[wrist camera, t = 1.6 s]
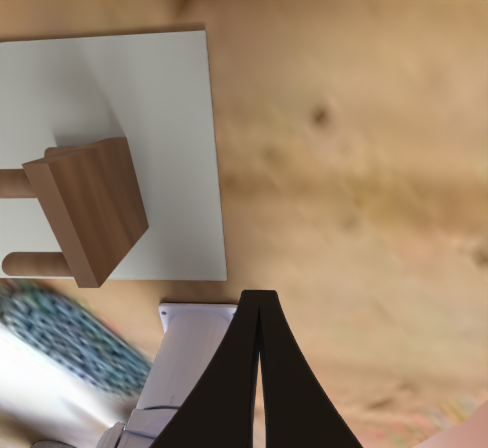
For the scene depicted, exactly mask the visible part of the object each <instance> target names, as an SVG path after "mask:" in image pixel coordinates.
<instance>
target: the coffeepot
mask: <svg viewBox="0 0 488 448" xmlns="http://www.w3.org/2000/svg"><path fill="white" fill-rule="evenodd" d="M30 448H74V447H72V446H70V445H67V444H64V443H61V442H56V441H47V440H45V441H38V442H36V443H35V444H34V445H33V446H32V447H30Z"/></svg>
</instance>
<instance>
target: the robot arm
mask: <svg viewBox="0 0 488 448" xmlns="http://www.w3.org/2000/svg"><path fill="white" fill-rule="evenodd" d="M158 310H159V314H160V317H161V321H162V324H163V328H164V332H165V335H164V338H163V340H162V343H161V345H160V348H159V350H158V353H157V355H156V358H155V360H154V363H153V365H152V368H151V370H150V373H149V375H148V378H147V381H146V383H145V386H144V388H143V391H142V393H141V396H140V398H139V401H138V403H137V406H136V408H134V409H133V411H132V413H131V416H130V418H129V421H128V423H127V426H126V428H125V430H123V429H124V426H125V424H123V423H119V422H118V423H116V424H115V425H114V426H113V427H111V428H110V429H108V430H107V431H105V432H104V434H103V435H102V437H101V438H100V440H99V442H98V444H97V446H96V448H253V421H254V407H255V396H256V385H257V374H258V362H259V351H260V362H261V374H262V386H263V397H264V409H265V426H266V448H363V447H362V445H361V444H360V442H359V441H358V440H357V438H356V437H355V435H354V434H353V433H352V431H351V430H350V428H349V427H348V426H347V424H346V423H345V421H344V420H343V419H342V417H341V416H340V414H339V413H338V411H337V410H336V409H335V407H334V405H333V404H332V402H331V401H330V399H329V398H328V396H327V395H326V393H325V392H324V390H323V388H322V387H321V385H320V384H319V382H318V380H317V379H316V377H315V375H314V374H313V372H312V370H311V368H310V367H309V365H308V363H307V361H306V360H305V358H304V356H303V354H302V352H301V350H300V348H299V346H298V344H297V342H296V340H295V338H294V336H293V334H292V332H291V330H290V328H289V325H288V323H287V321H286V318H285V316H284V313H283V311H282V308H281V305H280V302H279V298H278V294H277V292H276V291H275V290H243V291H242V293H241V297H240V300H239V303H238V305H232V304H181V303H161V304H160V305H159V307H158ZM164 311H165V312H164Z"/></svg>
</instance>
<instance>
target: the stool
mask: <svg viewBox="0 0 488 448" xmlns="http://www.w3.org/2000/svg"><path fill="white" fill-rule="evenodd" d="M21 165H22V167H23V169H0V199H12V198H37V199H38V201H39V203H40V205H41V207H42V210H43V212H44V214H45V216H46V218H47V220H48V223H49V225H50V227H51V229H52V231H53V233H54V235H55V238H56V240H57V242H58V244H59V246H60V248H61V250H62V252H11V253H9V254H8V255H6V256H5V258H4V259H3V261H2V270H3V272H4V273H5V274H6V275H8V276H43V277H74V278H75V281H76V283H77V285H78V287H79V288H100V286H101V285H102V284H103V283H104V282H105V280H106V279H107V278H108V277H109V276H110V274H111V273H112V272H113V271H114V269H115V268H116V267H117V266H118V265H119V263H120V262H121V261H122V260H123V259H124V257H125V256H126V255H127V254H128V253H129V251H130V250H131V249H132V248H133V246H134V245H135V244H136V243H137V242H138V240H139V239H140V238H141V237H142V236H143V234H144V233H145V232H146V231H147V230H148V228H149V225H148V221H147V217H146V213H145V209H144V205H143V201H142V197H141V193H140V189H139V185H138V181H137V177H136V173H135V169H134V165H133V161H132V157H131V153H130V149H129V145H128V141H127V137H117V138H107V139H104V140H100V141H97V142H94V143H90V144H87V145H84V146H71V147H48V148H47V149H46V150H45V152H44V157H43V158H40V159H37V160H33V161H30V162H27V163H23V164H21Z"/></svg>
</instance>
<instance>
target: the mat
mask: <svg viewBox="0 0 488 448" xmlns="http://www.w3.org/2000/svg"><path fill="white" fill-rule="evenodd" d="M117 137H127V141H128V145H129V149H130V153H131V157H132V161H133V165H134V169H135V173H136V177H137V181H138V185H139V189H140V193H141V197H142V201H143V205H144V209H145V213H146V217H147V221H148V225H149V228H148V230H147V231H146V232H145V233H144V234H143V236H142V237H141V238H140V239H139V240H138V242H137V243H136V244H135V245H134V246H133V248H132V249H131V250H130V251H129V253H128V254H127V255H126V256H125V257H124V259H123V260H122V261H121V262H120V263H119V265H118V266H117V267H116V268H115V269H114V271H113V272H112V273H111V274H110V276H109V277H108V278H107V279H134V280H210V281H227V268H226V256H225V245H224V233H223V222H222V210H221V199H220V187H219V176H218V164H217V152H216V141H215V129H214V118H213V106H212V95H211V83H210V72H209V60H208V48H207V37H206V31H205V30H203V31H186V32H169V33H152V34H135V35H118V36H100V37H83V38H66V39H49V40H32V41H15V42H0V169H23V167H22V165H21V164H23V163H27V162H30V161H33V160H37V159H40V158H43V157H44V152H45V150H46V149H47V148H48V147H71V146H84V145H87V144H90V143H94V142H97V141H100V140H104V139H107V138H117ZM11 252H62V250H61V248H60V246H59V244H58V242H57V240H56V238H55V235H54V233H53V231H52V229H51V227H50V225H49V223H48V220H47V218H46V216H45V214H44V212H43V210H42V207H41V205H40V203H39V201H38V199H37V198H12V199H0V278H57V279H75V278H74V277H43V276H8V275H6V274H5V273H4V272H3V270H2V261H3V259H4V258H5V256H6V255H8V254H9V253H11Z"/></svg>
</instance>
